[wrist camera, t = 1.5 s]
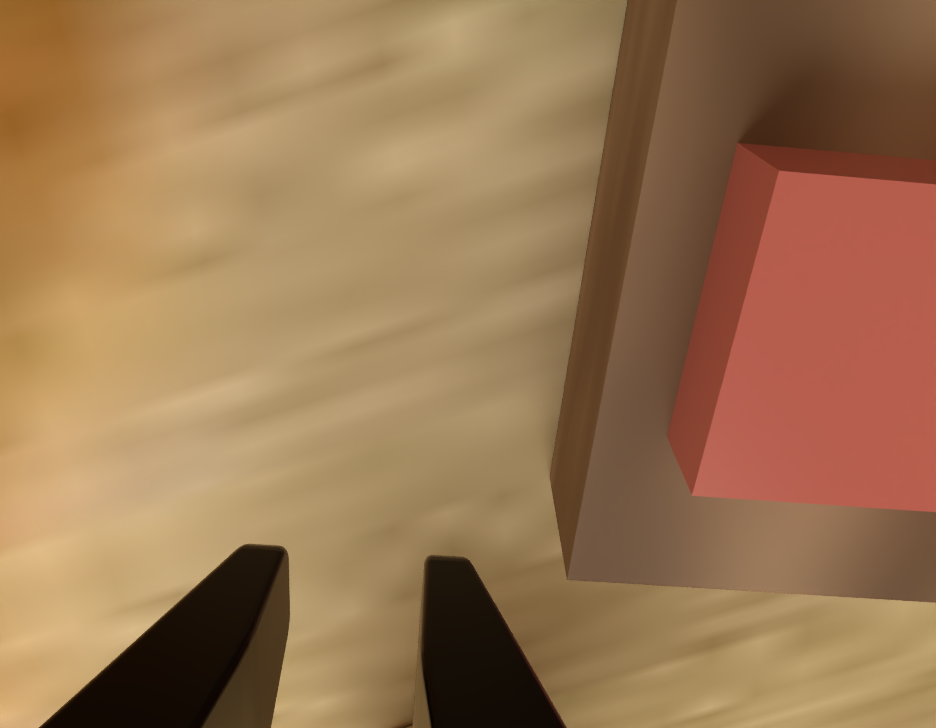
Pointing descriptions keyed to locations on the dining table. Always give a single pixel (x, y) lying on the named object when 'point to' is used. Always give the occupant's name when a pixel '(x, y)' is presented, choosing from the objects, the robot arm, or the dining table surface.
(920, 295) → the terracotta red slab
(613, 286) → the deck
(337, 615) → the dining table surface
